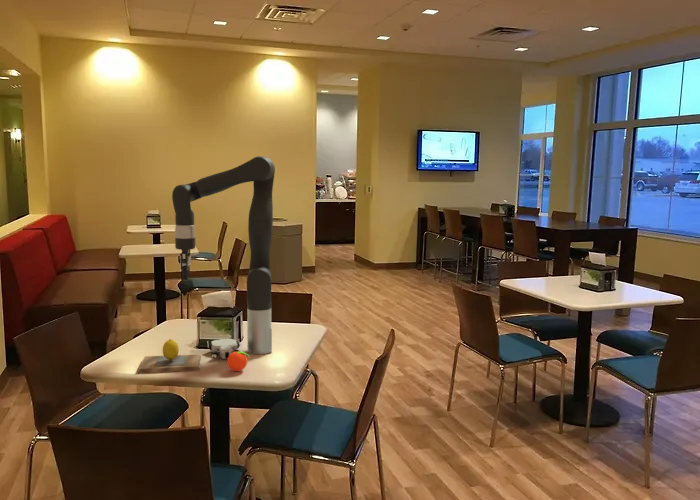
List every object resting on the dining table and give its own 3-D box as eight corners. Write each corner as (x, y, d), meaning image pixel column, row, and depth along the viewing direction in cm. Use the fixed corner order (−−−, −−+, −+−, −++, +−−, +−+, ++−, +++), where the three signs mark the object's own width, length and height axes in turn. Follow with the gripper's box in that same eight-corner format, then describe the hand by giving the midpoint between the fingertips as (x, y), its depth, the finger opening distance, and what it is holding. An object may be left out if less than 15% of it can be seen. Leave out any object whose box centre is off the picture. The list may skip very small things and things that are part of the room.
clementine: (251, 367, 213) (251, 348, 212) (248, 374, 206) (248, 354, 206) (229, 367, 213) (229, 348, 212) (225, 373, 206) (225, 354, 205)
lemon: (174, 363, 211) (173, 341, 210) (159, 362, 212) (159, 340, 211) (181, 359, 216) (181, 337, 215) (167, 357, 217) (167, 336, 216)
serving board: (200, 358, 223) (200, 353, 223) (198, 370, 209) (198, 365, 209) (144, 360, 219) (144, 355, 219) (138, 373, 205) (138, 368, 205)
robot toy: (244, 361, 223) (238, 347, 236) (244, 350, 222) (238, 336, 236) (210, 364, 219) (207, 349, 233) (210, 353, 218) (206, 338, 232)
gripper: (193, 238, 223) (194, 281, 225) (196, 234, 237) (197, 274, 239) (173, 238, 222) (174, 281, 224) (176, 234, 236) (177, 274, 238)
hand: (185, 277), depth 232 cm, fingers open, 8 cm apart
